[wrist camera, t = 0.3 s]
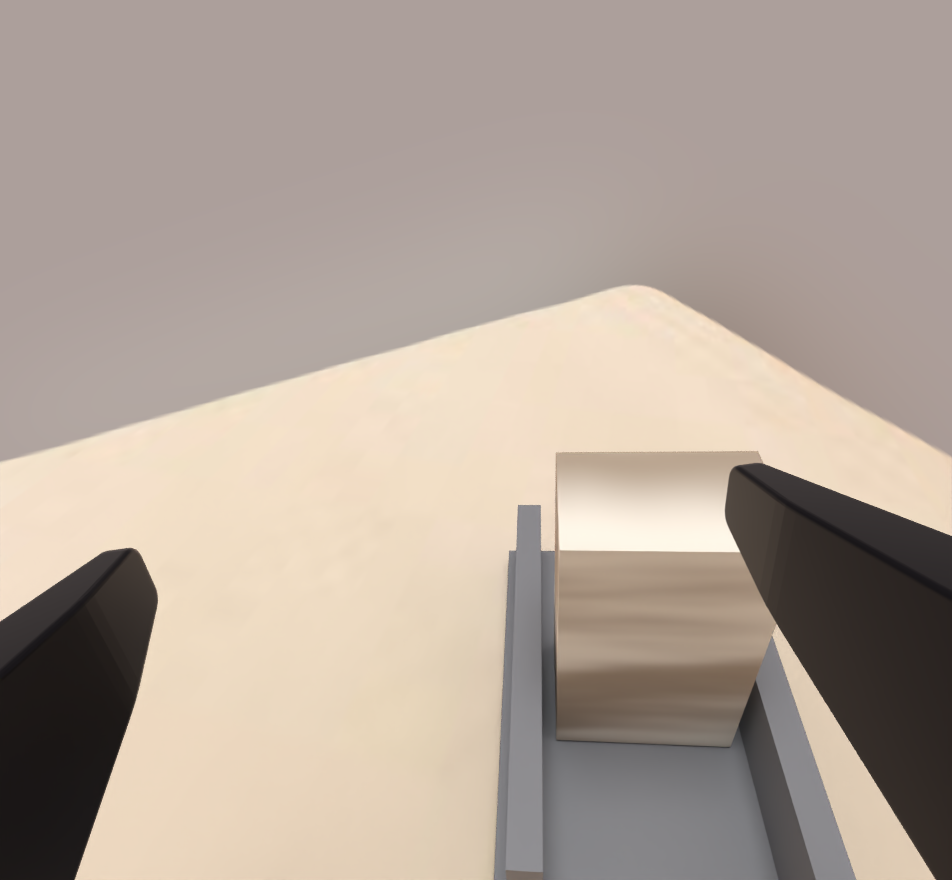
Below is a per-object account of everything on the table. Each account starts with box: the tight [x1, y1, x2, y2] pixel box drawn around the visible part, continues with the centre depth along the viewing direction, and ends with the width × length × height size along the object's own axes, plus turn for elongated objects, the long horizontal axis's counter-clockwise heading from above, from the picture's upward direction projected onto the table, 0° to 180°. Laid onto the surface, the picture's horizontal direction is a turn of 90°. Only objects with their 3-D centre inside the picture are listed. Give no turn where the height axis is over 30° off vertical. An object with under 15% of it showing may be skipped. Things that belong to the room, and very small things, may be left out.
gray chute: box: [494, 505, 856, 880], centre depth 23 cm, size 14×10×4 cm
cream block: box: [554, 451, 776, 747], centre depth 20 cm, size 4×6×10 cm, turn 85°
